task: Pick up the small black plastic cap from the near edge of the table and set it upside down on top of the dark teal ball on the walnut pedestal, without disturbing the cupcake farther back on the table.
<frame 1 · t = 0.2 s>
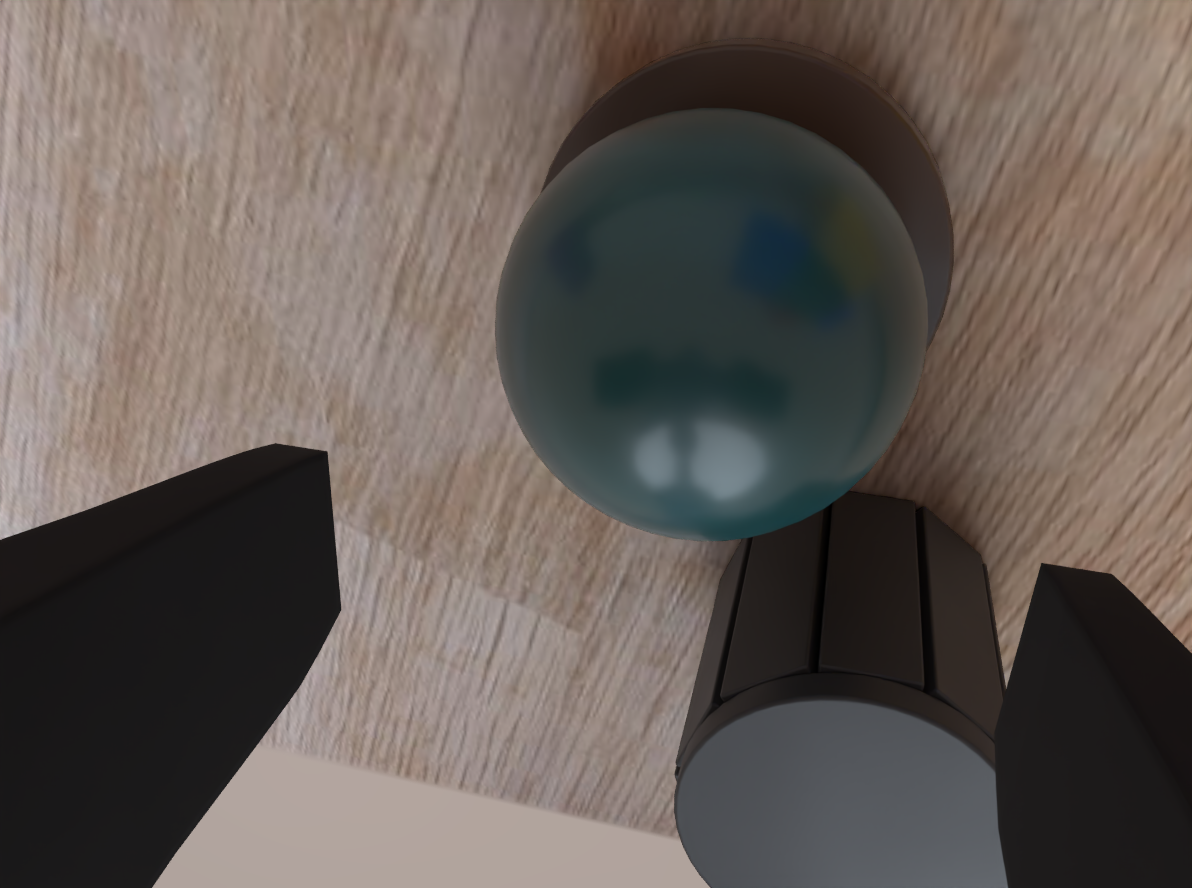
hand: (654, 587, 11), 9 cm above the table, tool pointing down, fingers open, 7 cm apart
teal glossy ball: (740, 250, 18), on the table
black cap: (853, 606, 21), on the table
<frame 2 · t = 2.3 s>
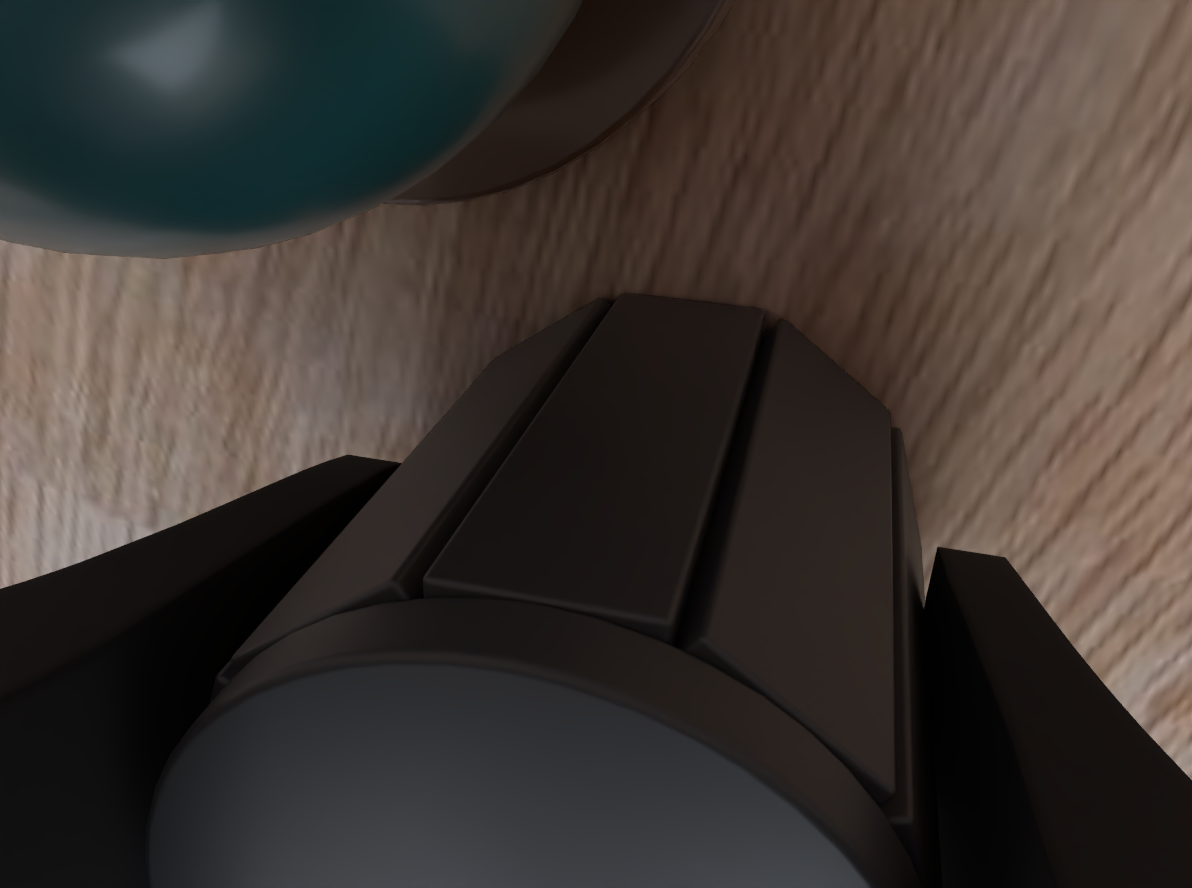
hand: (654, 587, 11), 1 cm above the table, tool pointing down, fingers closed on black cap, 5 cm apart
black cap: (673, 518, 12), on the table, touching gripper
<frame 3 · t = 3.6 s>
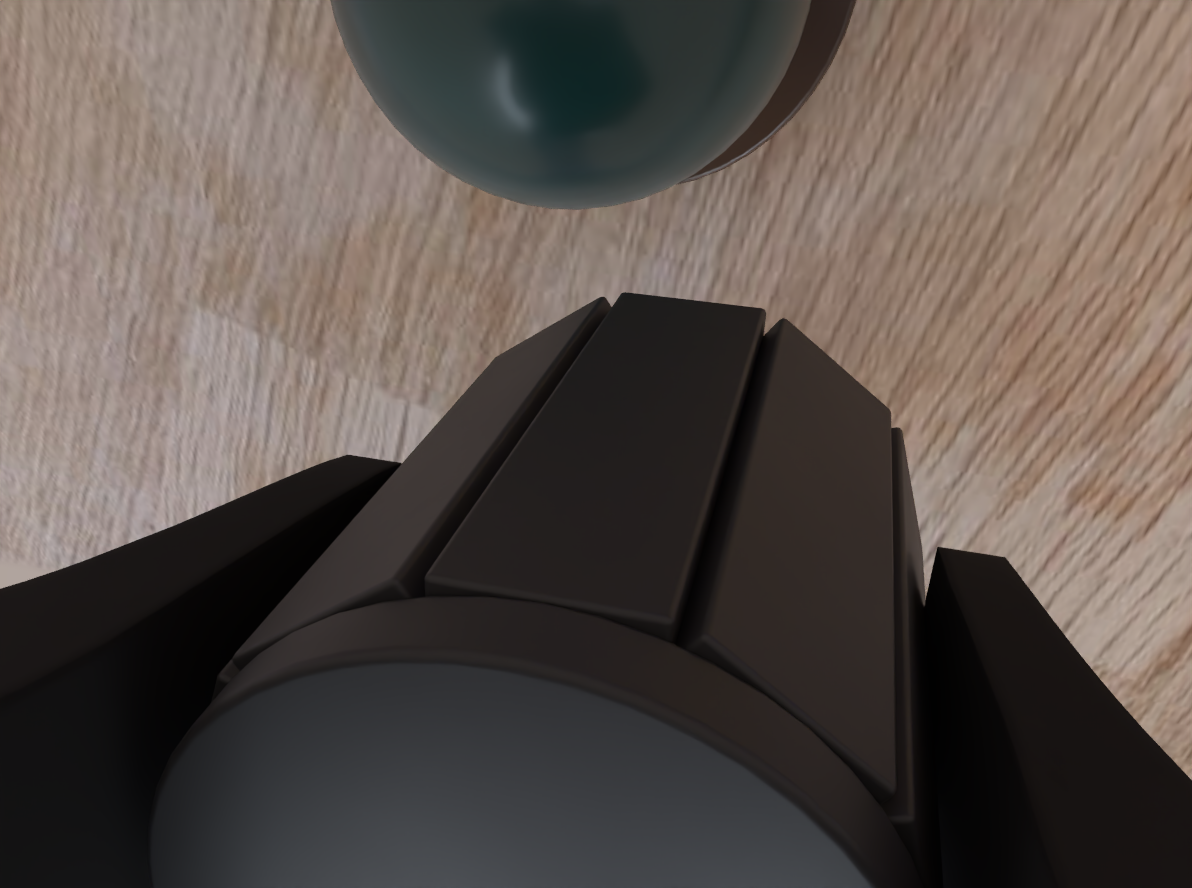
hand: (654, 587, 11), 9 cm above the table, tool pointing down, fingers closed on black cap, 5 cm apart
black cap: (674, 517, 12), point 8 cm above the table, touching gripper
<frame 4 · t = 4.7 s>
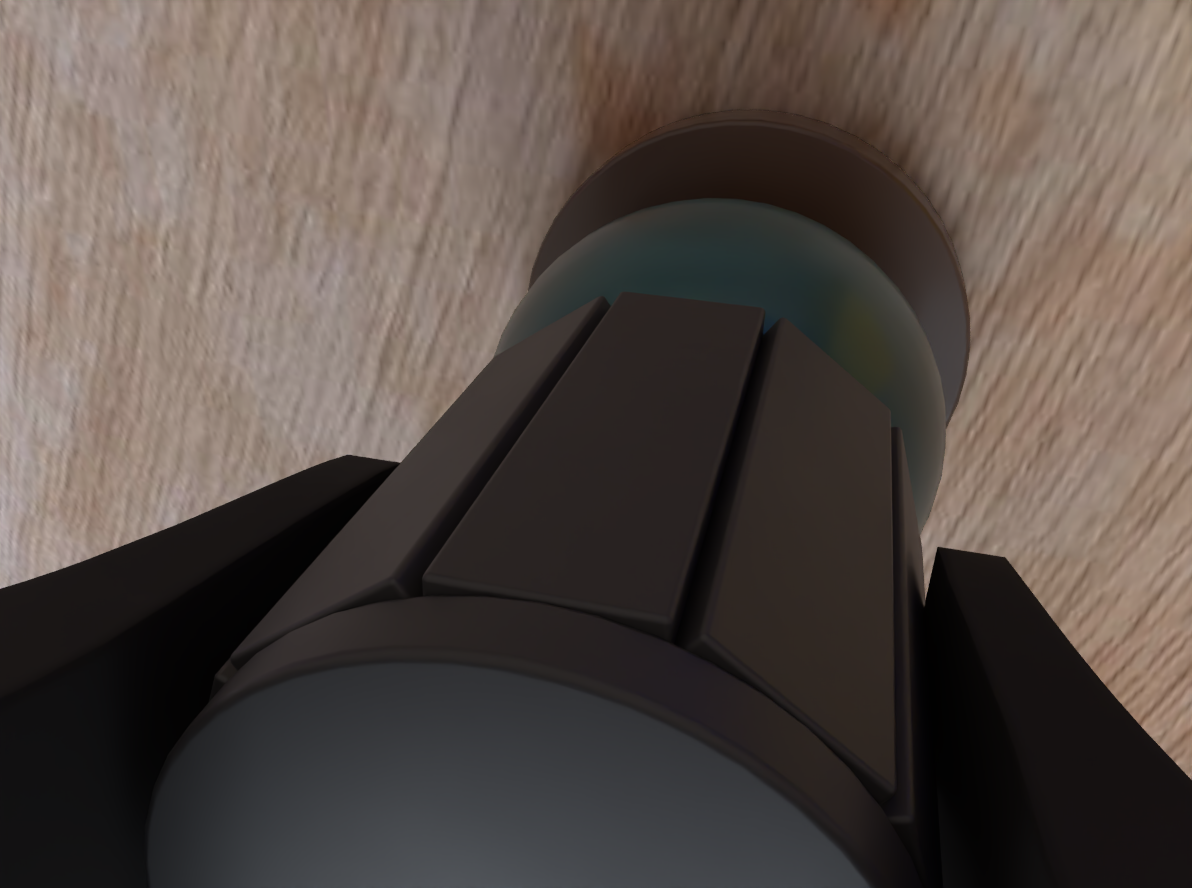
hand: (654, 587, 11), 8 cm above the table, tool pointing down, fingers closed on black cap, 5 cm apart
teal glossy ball: (743, 327, 17), on the table
black cap: (673, 517, 12), point 6 cm above the table, touching gripper
when the fingers open (7 cm above the table, at t = 5.3 s): black cap stays where it is, resting on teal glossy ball.
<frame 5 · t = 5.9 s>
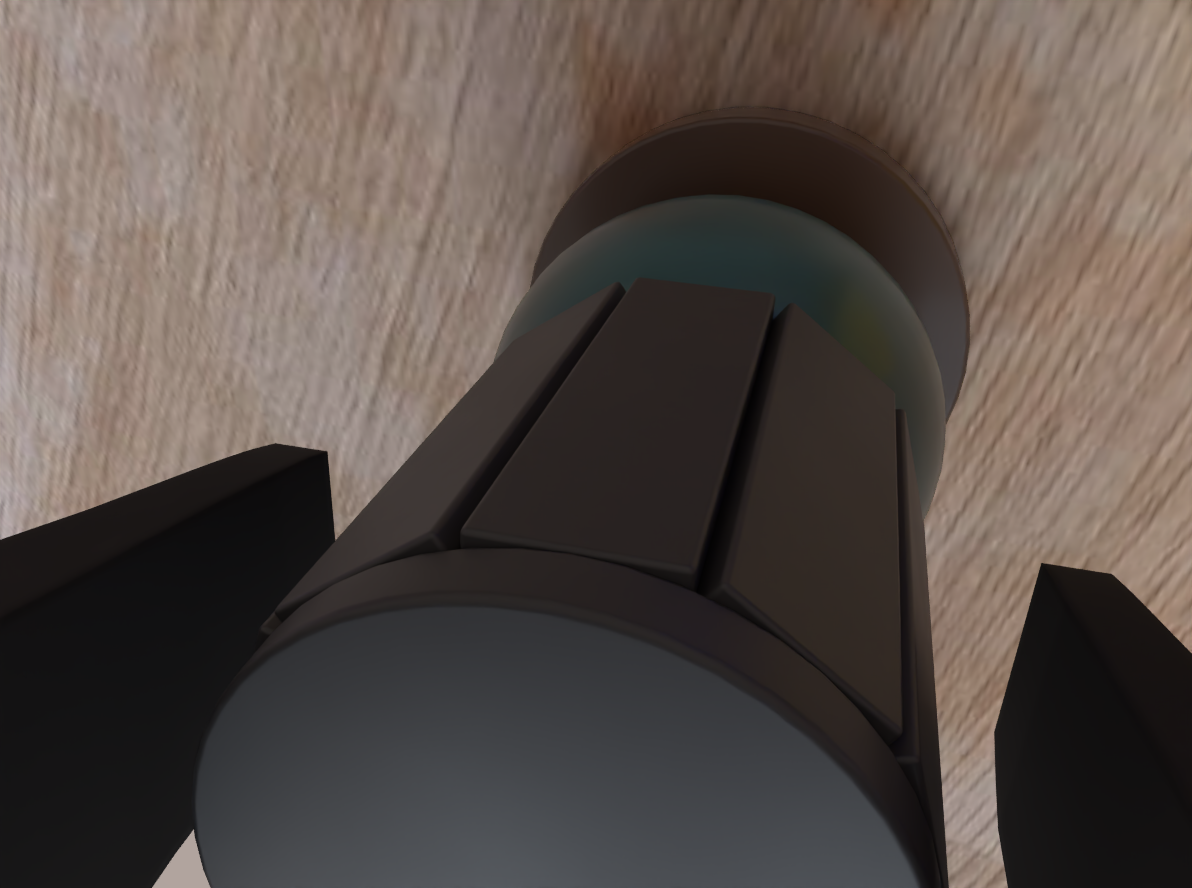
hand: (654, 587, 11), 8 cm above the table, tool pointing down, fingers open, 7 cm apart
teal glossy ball: (744, 323, 17), on the table
black cap: (684, 497, 12), point 6 cm above the table, touching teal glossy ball
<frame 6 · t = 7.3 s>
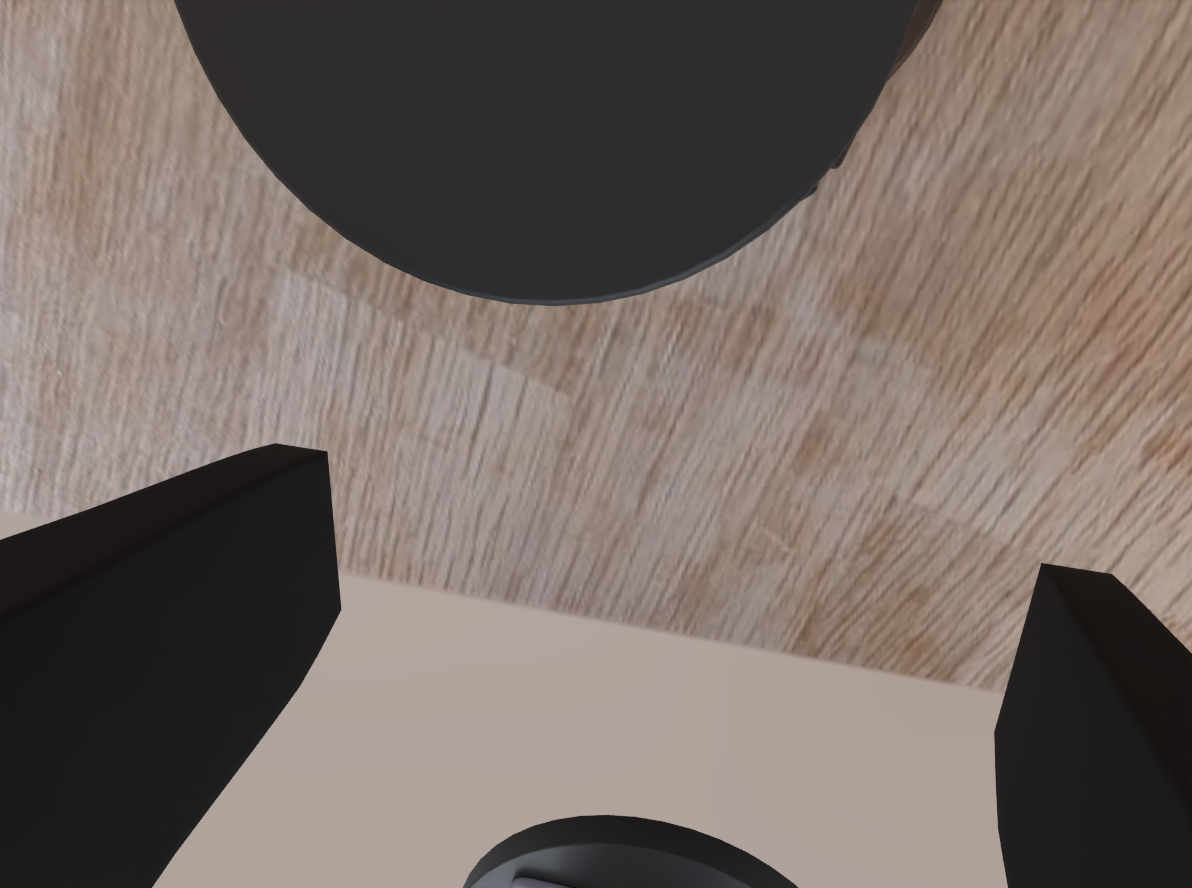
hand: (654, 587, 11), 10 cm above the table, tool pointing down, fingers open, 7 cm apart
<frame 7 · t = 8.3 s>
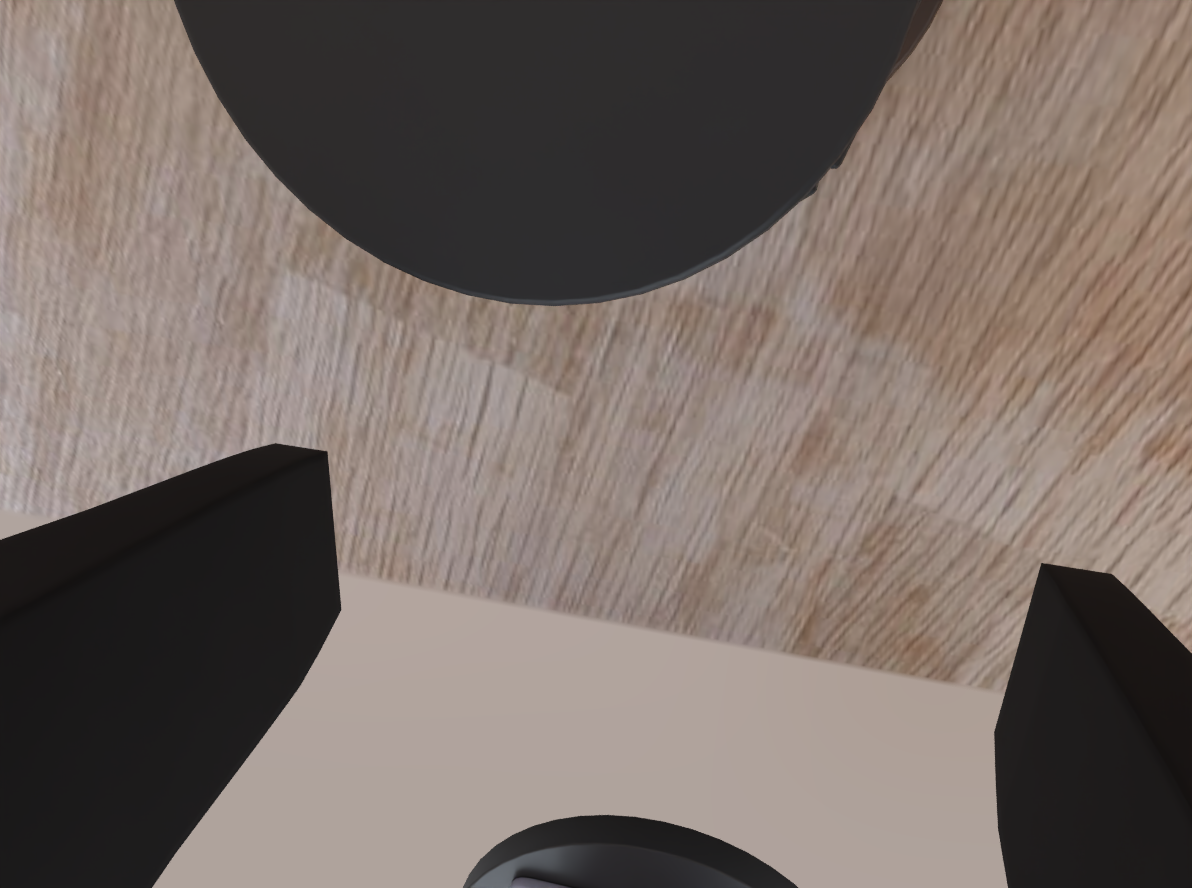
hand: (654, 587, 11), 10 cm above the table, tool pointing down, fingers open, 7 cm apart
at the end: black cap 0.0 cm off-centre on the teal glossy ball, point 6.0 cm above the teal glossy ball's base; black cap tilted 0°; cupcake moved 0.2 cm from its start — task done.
